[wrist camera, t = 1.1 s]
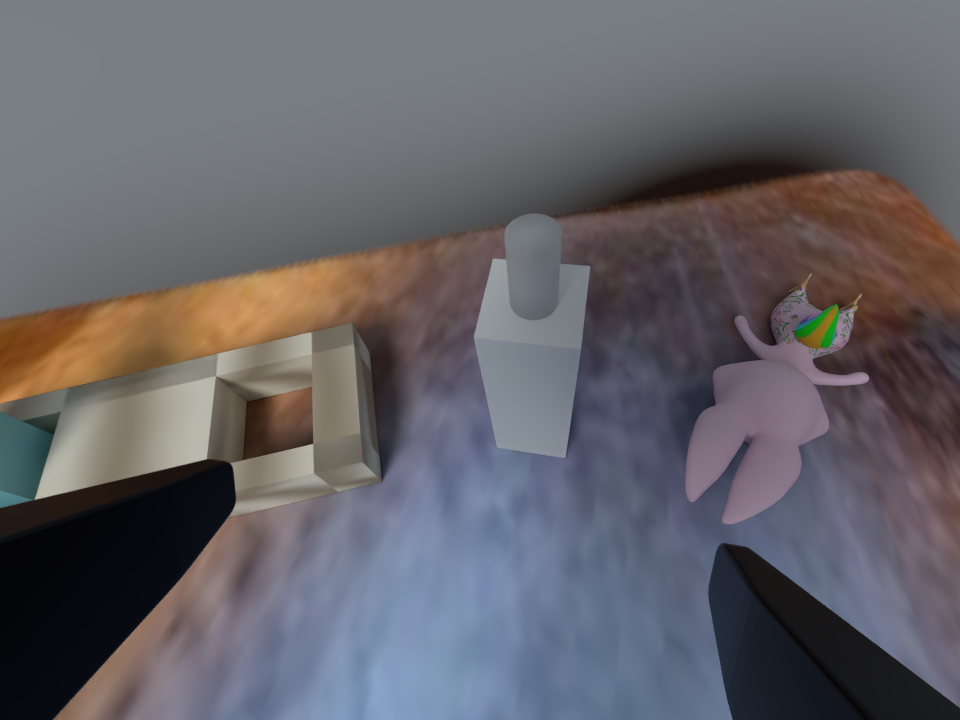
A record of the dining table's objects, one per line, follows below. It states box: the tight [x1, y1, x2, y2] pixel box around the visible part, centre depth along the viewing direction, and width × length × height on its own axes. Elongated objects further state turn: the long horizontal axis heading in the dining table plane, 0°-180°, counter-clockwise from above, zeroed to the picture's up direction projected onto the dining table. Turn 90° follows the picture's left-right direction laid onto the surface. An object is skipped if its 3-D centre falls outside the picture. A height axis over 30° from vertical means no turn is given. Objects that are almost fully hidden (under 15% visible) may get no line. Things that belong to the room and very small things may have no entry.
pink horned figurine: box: [685, 273, 869, 525], centre depth 21 cm, size 6×6×15 cm
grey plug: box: [474, 214, 590, 458], centre depth 19 cm, size 3×3×13 cm
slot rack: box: [0, 323, 382, 518], centre depth 24 cm, size 22×8×3 cm, turn 101°
